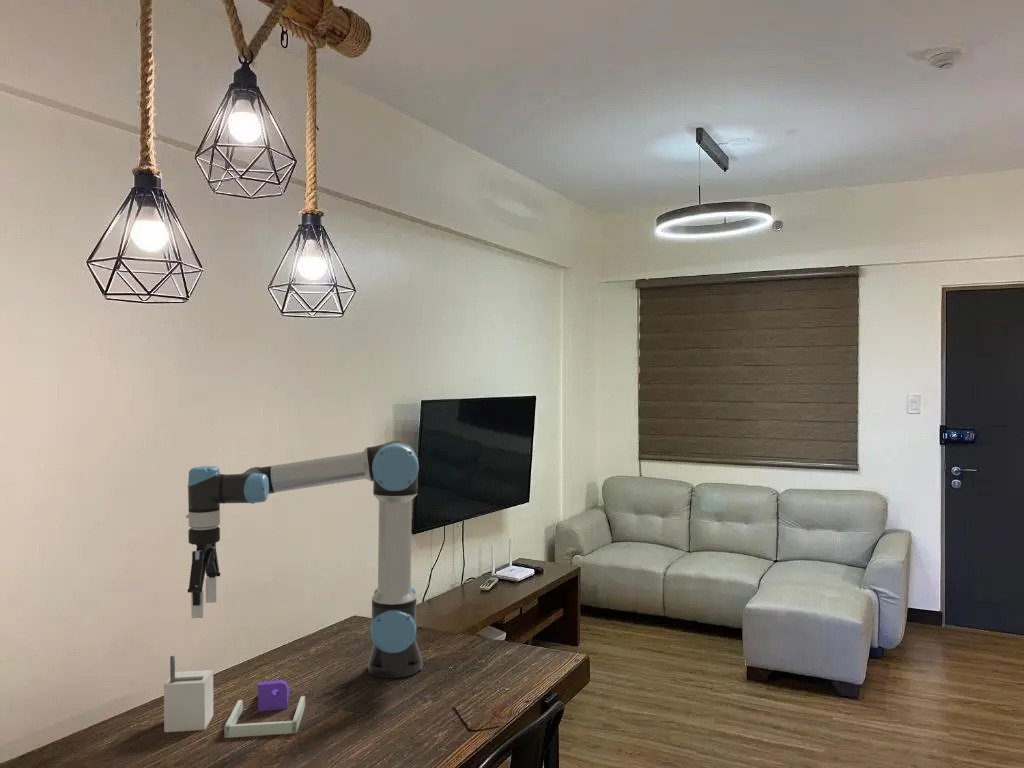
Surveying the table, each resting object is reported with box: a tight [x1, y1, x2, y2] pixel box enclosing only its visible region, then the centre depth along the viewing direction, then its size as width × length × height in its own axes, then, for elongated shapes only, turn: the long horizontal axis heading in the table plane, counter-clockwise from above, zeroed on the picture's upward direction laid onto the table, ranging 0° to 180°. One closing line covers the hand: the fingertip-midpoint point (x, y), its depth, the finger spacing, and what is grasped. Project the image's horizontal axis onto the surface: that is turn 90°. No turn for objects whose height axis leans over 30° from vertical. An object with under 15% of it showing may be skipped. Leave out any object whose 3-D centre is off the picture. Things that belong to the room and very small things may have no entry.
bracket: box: [257, 679, 290, 713], centre depth 196 cm, size 12×7×7 cm, turn 14°
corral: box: [223, 695, 306, 739], centre depth 183 cm, size 16×15×2 cm
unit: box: [163, 655, 214, 733], centre depth 183 cm, size 9×8×17 cm
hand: (204, 609), depth 197 cm, fingers open, 13 cm apart
